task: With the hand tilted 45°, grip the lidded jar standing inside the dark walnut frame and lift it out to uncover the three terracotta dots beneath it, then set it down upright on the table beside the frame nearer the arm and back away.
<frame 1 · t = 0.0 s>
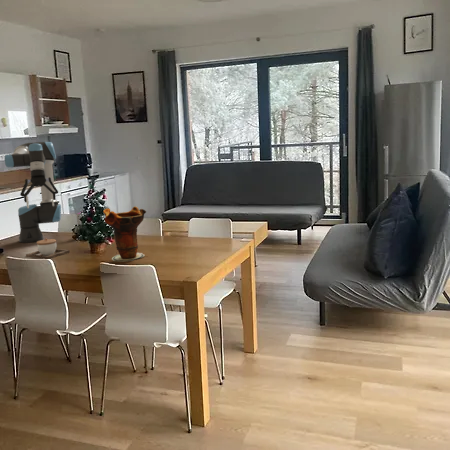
hand: (40, 206, 280), 28 cm above the table, tool tilted 20°, fingers open, 13 cm apart
lidded jar: (48, 254, 285), resting in walnut frame
walnut frame: (48, 254, 285), on the table
decorative vase: (127, 257, 269), on the table
candy bar box: (86, 236, 333), on the table
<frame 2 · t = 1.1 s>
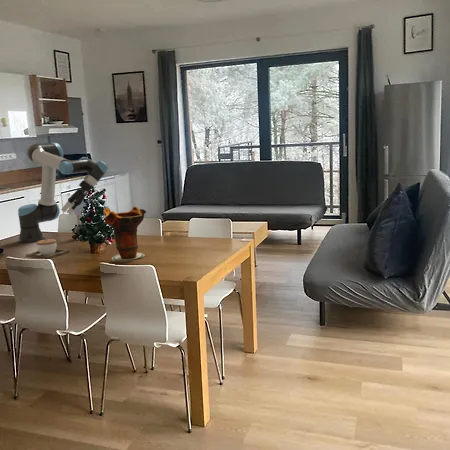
hand: (65, 212, 287), 23 cm above the table, tool tilted 45°, fingers open, 13 cm apart
nothing on the table moved.
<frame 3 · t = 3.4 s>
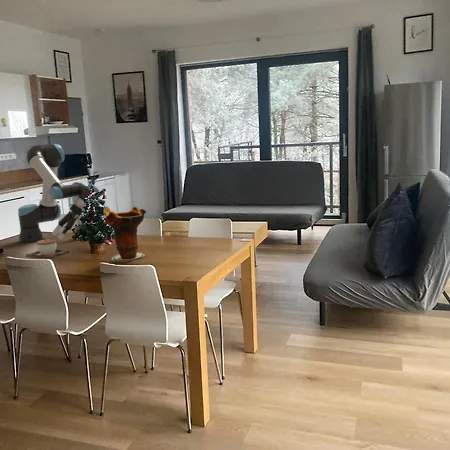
hand: (56, 236, 285), 10 cm above the table, tool tilted 45°, fingers open, 13 cm apart
nothing on the table moved.
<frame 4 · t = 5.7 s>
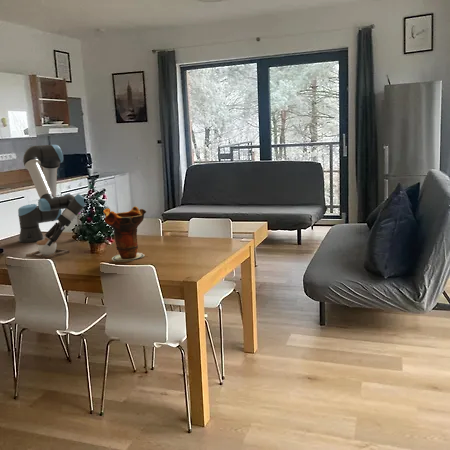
hand: (42, 248, 283), 4 cm above the table, tool tilted 45°, fingers closed on lidded jar, 11 cm apart
lidded jar: (48, 254, 285), resting in walnut frame, touching gripper
everything else where it was.
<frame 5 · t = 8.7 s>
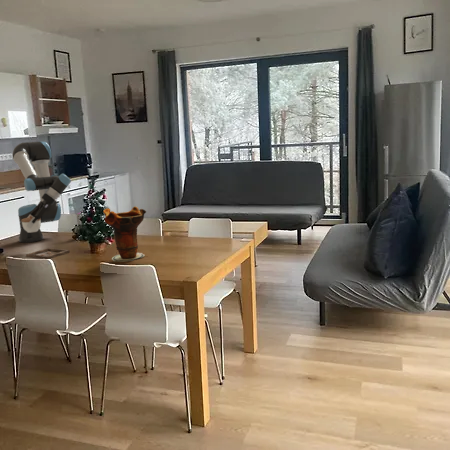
hand: (26, 225, 292), 16 cm above the table, tool tilted 45°, fingers closed on lidded jar, 11 cm apart
lidded jar: (32, 231, 295), point 12 cm above the table, touching gripper
everything else where it was.
when the fingers open (6 cm above the table, at t = 11.9 s): lidded jar drops 2 cm, on the table.
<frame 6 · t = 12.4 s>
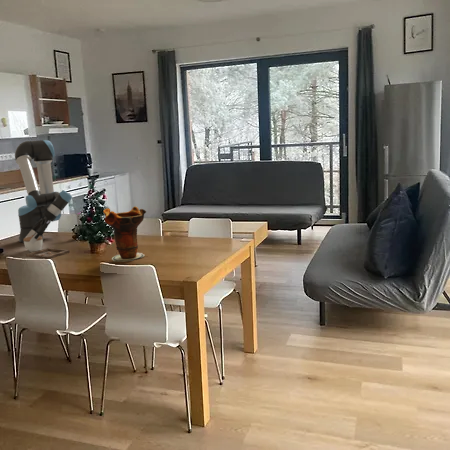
hand: (28, 241, 295), 6 cm above the table, tool tilted 45°, fingers open, 13 cm apart
lidded jar: (34, 250, 297), on the table
everything else where it was.
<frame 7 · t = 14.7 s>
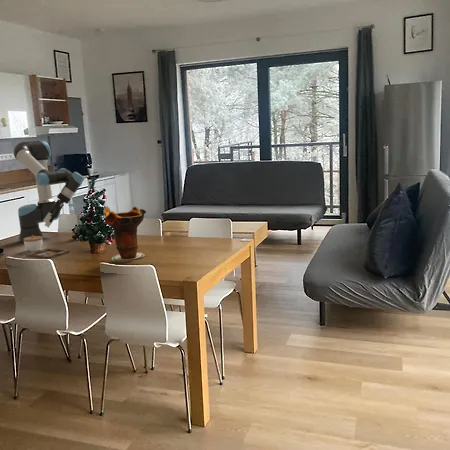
hand: (45, 224, 300), 15 cm above the table, tool tilted 40°, fingers open, 13 cm apart
nothing on the table moved.
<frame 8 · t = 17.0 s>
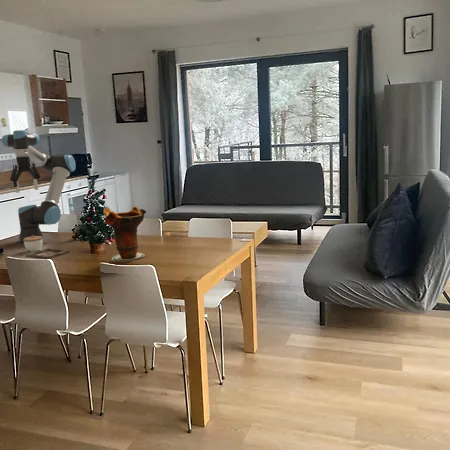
hand: (27, 191, 302), 35 cm above the table, tool pointing down, fingers open, 13 cm apart
nothing on the table moved.
at the end: lidded jar inside the target area (0.1 cm from its centre), on the table; lidded jar tilted 0°; the gripper is holding nothing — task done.
